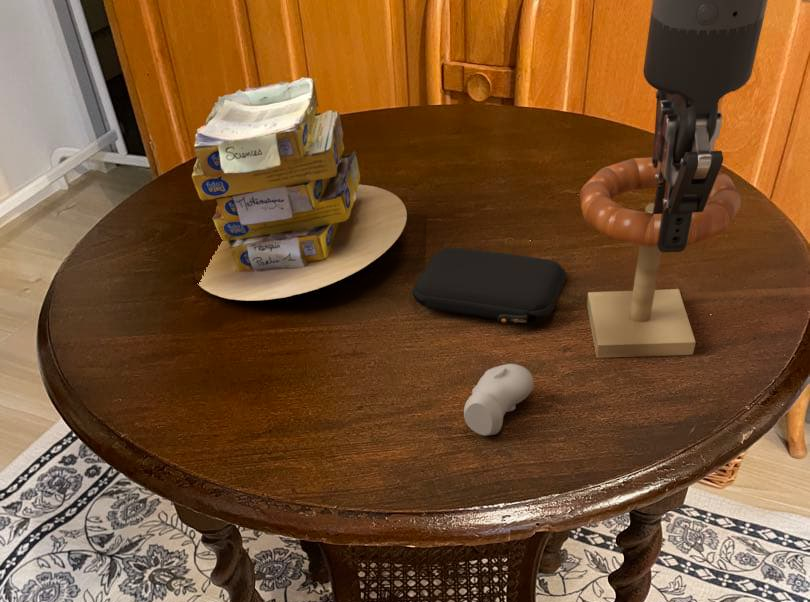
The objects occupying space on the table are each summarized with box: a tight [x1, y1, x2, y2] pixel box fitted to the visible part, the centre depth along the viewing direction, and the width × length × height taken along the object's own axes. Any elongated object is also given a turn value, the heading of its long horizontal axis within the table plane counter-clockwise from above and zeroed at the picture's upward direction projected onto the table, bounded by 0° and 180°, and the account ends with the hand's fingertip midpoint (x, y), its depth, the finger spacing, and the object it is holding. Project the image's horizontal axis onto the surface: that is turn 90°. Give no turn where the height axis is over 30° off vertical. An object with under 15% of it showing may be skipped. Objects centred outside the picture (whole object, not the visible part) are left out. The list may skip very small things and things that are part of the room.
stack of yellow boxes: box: [191, 77, 408, 302], centre depth 92 cm, size 25×25×17 cm
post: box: [586, 202, 696, 359], centre depth 80 cm, size 9×9×12 cm
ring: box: [579, 156, 742, 248], centre depth 75 cm, size 13×13×3 cm
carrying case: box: [412, 246, 568, 325], centre depth 88 cm, size 11×3×15 cm
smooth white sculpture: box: [463, 363, 534, 436], centre depth 76 cm, size 4×8×5 cm
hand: (667, 238), depth 72 cm, fingers closed on ring, 2 cm apart
